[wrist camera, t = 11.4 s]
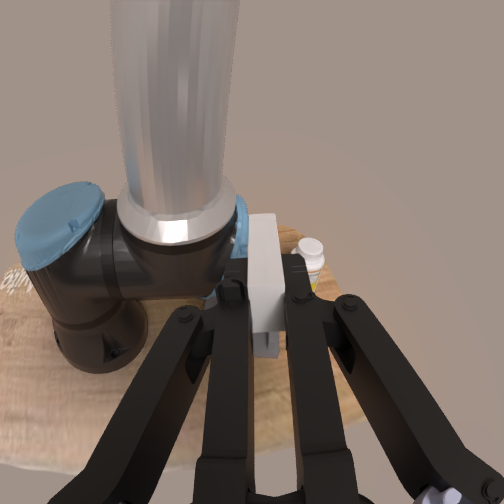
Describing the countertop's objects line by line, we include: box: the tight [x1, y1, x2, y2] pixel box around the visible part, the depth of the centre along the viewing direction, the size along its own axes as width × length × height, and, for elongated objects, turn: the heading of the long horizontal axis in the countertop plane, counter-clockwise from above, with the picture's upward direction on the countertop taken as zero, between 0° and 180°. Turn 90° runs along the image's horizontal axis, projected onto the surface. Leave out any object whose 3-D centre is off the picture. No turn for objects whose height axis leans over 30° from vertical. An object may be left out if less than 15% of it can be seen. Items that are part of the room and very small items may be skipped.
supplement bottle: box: [291, 238, 325, 292], centre depth 50 cm, size 6×6×10 cm
